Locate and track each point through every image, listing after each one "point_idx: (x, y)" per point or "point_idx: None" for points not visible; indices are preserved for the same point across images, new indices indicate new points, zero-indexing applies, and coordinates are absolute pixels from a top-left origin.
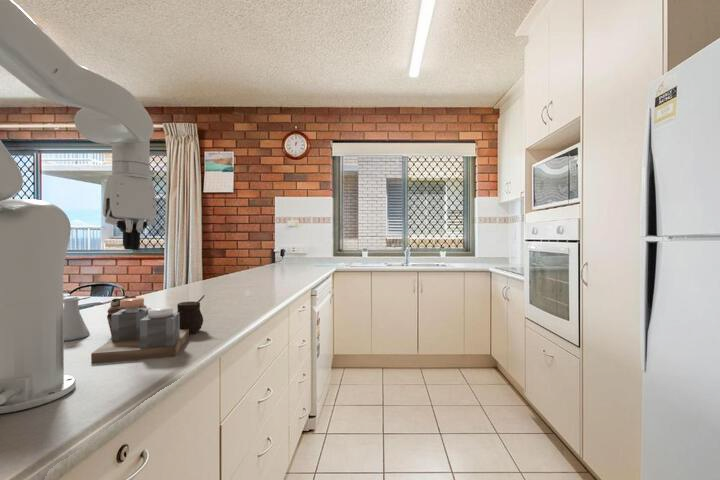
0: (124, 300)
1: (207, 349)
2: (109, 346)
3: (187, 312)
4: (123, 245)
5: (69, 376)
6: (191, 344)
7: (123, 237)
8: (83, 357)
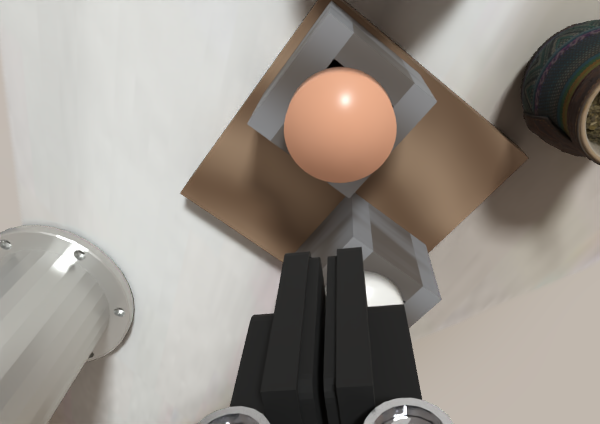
0: (302, 129)
1: (449, 313)
2: (237, 161)
3: (574, 149)
4: (256, 316)
5: (121, 295)
6: (458, 237)
7: (240, 386)
8: (182, 100)
